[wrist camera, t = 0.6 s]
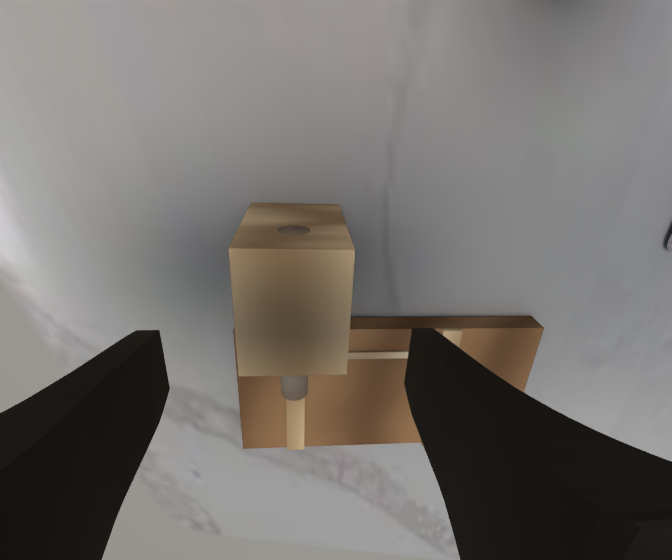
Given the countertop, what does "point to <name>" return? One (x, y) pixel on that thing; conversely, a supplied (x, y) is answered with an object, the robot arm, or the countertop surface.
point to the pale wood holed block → (292, 293)
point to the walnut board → (377, 382)
